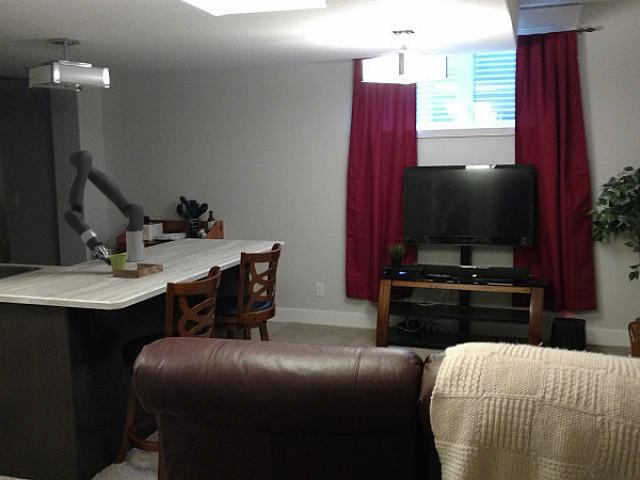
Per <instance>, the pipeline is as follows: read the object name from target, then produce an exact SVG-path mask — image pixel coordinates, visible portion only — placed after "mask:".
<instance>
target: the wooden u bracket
mask: <svg viewBox="0 0 640 480" xmlns="http://www.w3.org/2000/svg"><path fill="white" fill-rule="evenodd" d="M163 268H164V266H163V264H159V263H143V262H141V263H140V262H138V263H136V270H135V269H125V270H123V269H113V271H112V275H113V277H121V278H134V279H140V278H144V277H147V275H148V276H151V275H155V274H158V273H161V271H162V272H163V270H164V269H163ZM157 272H158V273H157ZM154 273H155V274H154ZM150 274H151V275H150ZM143 276H144V277H143Z"/></svg>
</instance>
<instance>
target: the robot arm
mask: <svg viewBox="0 0 640 480" xmlns="http://www.w3.org/2000/svg"><path fill="white" fill-rule="evenodd" d="M92 155H93V154H92V153H91V152H90V151H89V150H77V151H73V152H71V153H70V154H69V158H68V159H69V162H70V164H71V166H73V168H75V169H76V175H75V178H74V180H73V182H72V185H71V187H70V190H69V193H68V194H69V195H68V201H67V202H68V206H70V209H69V210H66V211H64V213H63V220H64V221H65V222H66V224H67V225H68V226H69V227H70V228H71V229H72V230H74V231H75V233H76V234H77V235H78V237H79V238H80V239H81V240H82V243H83V244H84V245H85V246H86V247H87V249H89V251H90V252H92V253H91V257H93V258H96V259H97V260H99V261H101V262H102V261H104V262H105V263H106V265H107V266H108V267H112V266H111V261H110V258H109V256H110V255H112V251H111V248H107V247H106V246H104V245H103V244H104V241H103V240H101V238H100V237H99V236H98V235H97V233H96V232H95V230H93V229H92V228H91V226H90V225H89V224H88V223H86V222H85V221H83V218H84V208H83V201H84V197H85V188H86V185H87V181H88V180H89V182H90V183H92V185H93V186H95V187H96V189H98V190H99V192H101V193H102V194H103V196H105V197H106V198H107V199H108V200H109V201H111V203H112V204H113V205H115V206H116V208H117V209H118V210H119V212H120V213H121V214H122V215H123V216H124V217H125V218H127V219H128V221H129V222H128V224H127V225H126V226H125V236H126V237H125V238H126V255H128V256H127V259H126V262H140V261H144V260H146V259H145V243H144V234H143V233H144V232H143V230H144V229H143V227H144V223H145V214H144V213H145V211H144V207H143V205H141V204H139V203H137V202H136V203H134V202H131V201H130V200H128V199H127V198H126V197H125V196H124V194H123V193H122V191H121V189H120V186H119V185H118V184H117V183H116V182H115V180H113V178H111V177H110V176H109V175H107V174H106V173H105V172H103V171H101V170H99V169H97V167H95V166H93V156H92Z"/></svg>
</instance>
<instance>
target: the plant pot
mask: <svg viewBox="0 0 640 480" xmlns="http://www.w3.org/2000/svg"><path fill="white" fill-rule="evenodd" d="M127 256H128V255H127V254H119V253H118V254H111V255H110V256H109V258H110V261H111V266H110V267H111V269H112V271H111V272H113V269H123V270H126V265H127V264H126V263H127Z"/></svg>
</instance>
